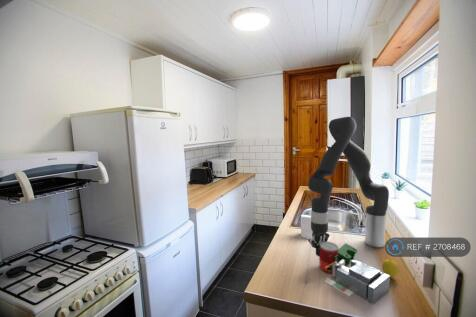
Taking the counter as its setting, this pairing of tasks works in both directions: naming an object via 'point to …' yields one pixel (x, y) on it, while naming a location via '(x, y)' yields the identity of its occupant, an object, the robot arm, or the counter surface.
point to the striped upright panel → (339, 287)
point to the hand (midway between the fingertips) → (318, 255)
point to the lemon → (390, 267)
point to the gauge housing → (364, 281)
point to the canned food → (327, 256)
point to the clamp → (346, 253)
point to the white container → (306, 226)
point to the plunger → (336, 266)
